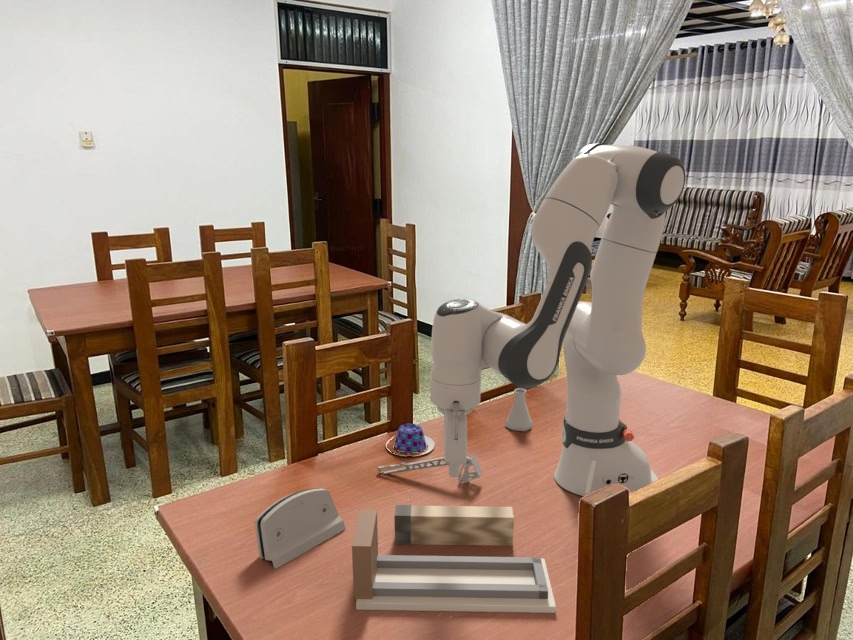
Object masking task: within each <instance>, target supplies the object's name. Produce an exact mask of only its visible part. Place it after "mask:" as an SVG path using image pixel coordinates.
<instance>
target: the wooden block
mask: <svg viewBox="0 0 853 640" xmlns="http://www.w3.org/2000/svg"><path fill="white" fill-rule="evenodd" d="M514 515H515V514H514V510H513V506H486V505H485V506H477V505H476V506H474V505H472V506H470V505H469V506H468V505H467V506H466V505H464V506H463V505H461V506H460V505H412V504H395V508H394V544H395V545H436V546H437V545H441V546H443V545H444V546H445V545H446V546H447V545H448V546H449V545H450V546H451V545H452V546H511V547H513V545H514V526H515V524H514V522H515V518H514V517H515V516H514Z"/></svg>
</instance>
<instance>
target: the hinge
mask: <svg viewBox="0 0 853 640" xmlns="http://www.w3.org/2000/svg"><path fill="white" fill-rule="evenodd" d="M254 528H255V536H256V543H257V548H258V555H259V558H260V559H261V560H263V559H265V560H264V561H272V565H273V569H276V570H277V569H279V568H280V567H282V566H283V565H285V564H287V563H289V562H290V561H292V560H294V559H296V558H297V557H300V556H301V555H303V554H305V553H307V552H308V551H310V550H311V549H313V548H315V547H318V546H319V545H320V544H319V543H321V542H322V543H324V542H326V541H328V540H330V539H331V538H333V537H335V536H336V535H338V534H340V533H342V532H343V530H344V529H345V530H346V525H345V522H344V520H343V519H342V517H341V516H340V515H339V512H338V510H337V507H336V505H335V502H334V500H333V497H332V495H331V492H330V490H328V489H325V488H318V487H317V488H307V489H303V490H300V491H297V492H293V493H290V494H288V495H286V496H283V497H282V498H280V499H278V500H276V501H275V502H273V503H272V504H271V505H269V506H268V507H267V508H266V509H264V510H263V511H262V512H261V513H260V514H259V515H258V516H257V517H256V519H255V520H254ZM345 530H344V531H345ZM341 531H342V532H341ZM327 539H328V540H327ZM325 540H326V541H325ZM323 541H324V542H323ZM322 543H321V544H322ZM318 544H319V545H318Z"/></svg>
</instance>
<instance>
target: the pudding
mask: <svg viewBox="0 0 853 640" xmlns="http://www.w3.org/2000/svg"><path fill="white" fill-rule="evenodd" d="M395 436H396V439H395V443H394V445H393V447H394V446H395V447H397V450H399V451H404V452H405V453H412V452H420V453H421V451H422V452H423V451H424V450H423V449H425V450H426V449H427V448H426V447H427V444H428V446H429V447H428V450H427V451H426V452H425V453H422V454H420V455H414V456H413V457H419V456H422V455H423V456H424V455H425V454H428V453H430V452H431V451H433V449H434V448H435V445H436V444H435V441H434V440H433V439H432V438H431V437H430V436H427V435H425V434H424V432H423V428H422V426H420V425H419V424H416V423H410V422H409V423H405V424H401V425H400V426H399V427H398V429H397V431H396V435H394V436H392V437H390V438H389V439H388V440H387V441H386V443H385V448H386V449H387V451H389V452H390V453H391V454H394V455H395V456H396V455H397V456H400V457H406V456H405V455H398V454H395V453H392V452H391V451H390V450H389V449H388V448H387V444H388V443H389V441H390V440H392V439H393V438H394V437H395ZM405 453H404V454H405Z"/></svg>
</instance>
